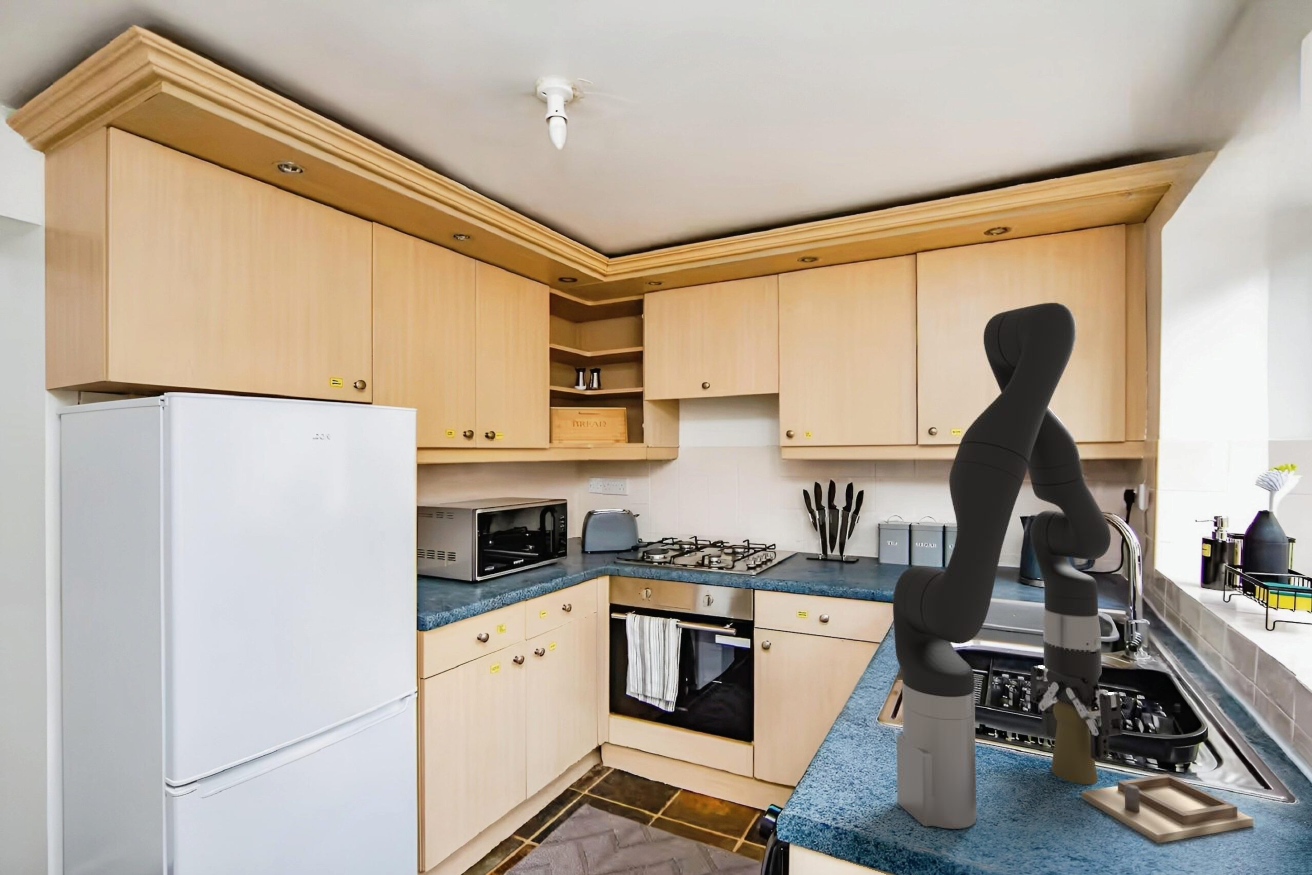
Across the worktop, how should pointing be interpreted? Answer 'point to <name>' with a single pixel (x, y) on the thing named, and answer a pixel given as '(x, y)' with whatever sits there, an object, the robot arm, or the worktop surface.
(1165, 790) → the socket plate
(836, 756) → the worktop surface
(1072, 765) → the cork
